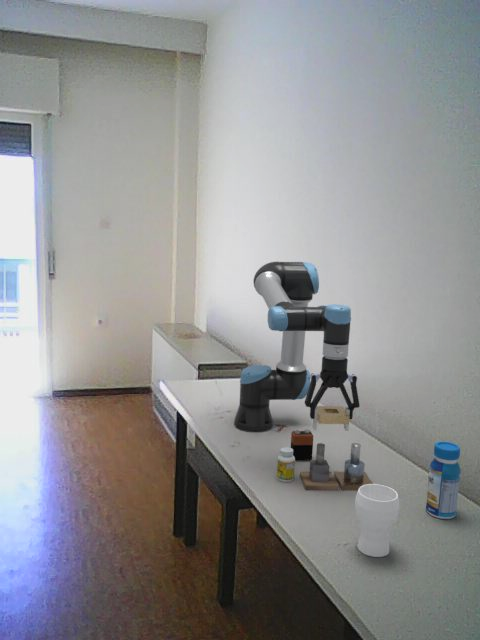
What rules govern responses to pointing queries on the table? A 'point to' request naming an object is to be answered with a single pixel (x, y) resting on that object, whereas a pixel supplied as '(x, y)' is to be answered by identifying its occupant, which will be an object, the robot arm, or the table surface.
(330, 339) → the robot arm
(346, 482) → the peg stand
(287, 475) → the supplement bottle
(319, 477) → the rod stand
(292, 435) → the battery
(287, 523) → the table surface
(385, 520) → the cup
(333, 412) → the brass plate
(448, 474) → the beverage bottle
